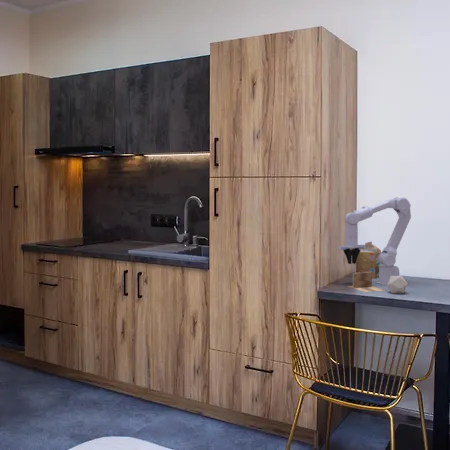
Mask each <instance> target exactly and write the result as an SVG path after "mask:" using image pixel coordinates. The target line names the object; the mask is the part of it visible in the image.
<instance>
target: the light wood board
mask: <svg viewBox="0 0 450 450" xmlns="http://www.w3.org/2000/svg"><path fill="white" fill-rule="evenodd" d="M347 288H350V289H354V290H357V291H360V292H364V293H370V292H372V293H373V292H385V291H388V289H384V288H381V287H378V286H373V285H372V287H362V288H354V287H353V285H349V286H347Z"/></svg>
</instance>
